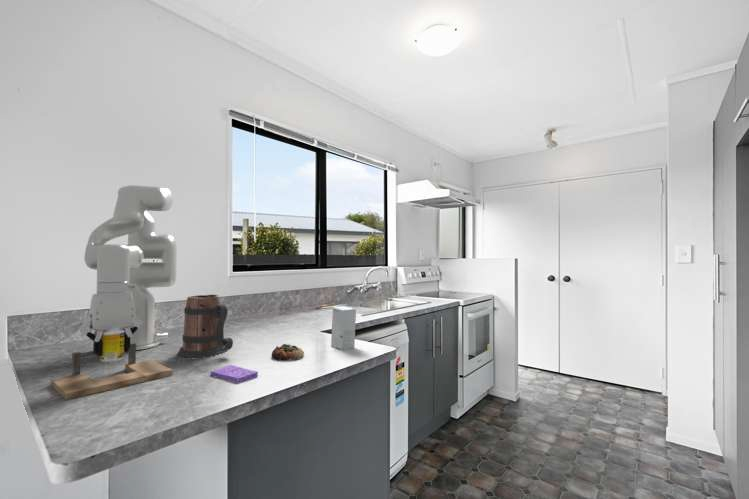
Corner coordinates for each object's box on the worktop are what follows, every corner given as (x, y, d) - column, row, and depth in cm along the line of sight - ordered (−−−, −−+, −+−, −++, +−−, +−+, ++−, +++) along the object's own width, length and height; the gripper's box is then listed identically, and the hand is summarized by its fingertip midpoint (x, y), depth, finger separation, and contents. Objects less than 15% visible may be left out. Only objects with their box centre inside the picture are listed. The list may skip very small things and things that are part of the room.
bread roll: (264, 358, 123) (266, 343, 123) (284, 355, 133) (285, 341, 134) (291, 364, 119) (293, 348, 119) (310, 360, 129) (312, 345, 129)
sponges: (237, 385, 99) (237, 378, 100) (209, 376, 106) (209, 370, 106) (258, 377, 105) (258, 371, 105) (230, 370, 112) (230, 364, 112)
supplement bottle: (122, 361, 102) (123, 324, 102) (97, 363, 99) (98, 325, 100) (125, 356, 107) (126, 320, 107) (102, 358, 104) (103, 322, 105)
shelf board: (149, 363, 117) (150, 340, 117) (172, 374, 106) (172, 348, 106) (50, 384, 98) (50, 355, 98) (65, 399, 88) (66, 368, 88)
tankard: (165, 354, 129) (166, 296, 129) (209, 344, 143) (209, 292, 143) (207, 364, 116) (207, 301, 117) (250, 352, 131) (250, 296, 131)
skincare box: (330, 345, 141) (331, 306, 141) (344, 343, 144) (344, 305, 145) (342, 350, 134) (342, 309, 134) (356, 348, 138) (356, 308, 138)
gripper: (142, 286, 113) (141, 345, 112) (71, 289, 99) (69, 357, 99) (152, 287, 108) (151, 349, 108) (78, 291, 95) (77, 362, 94)
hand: (112, 352), depth 103 cm, fingers closed on supplement bottle, 5 cm apart
